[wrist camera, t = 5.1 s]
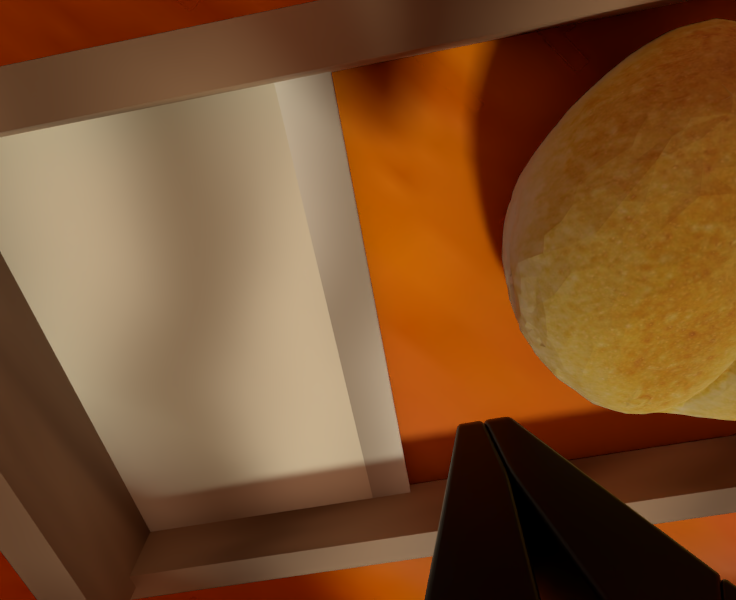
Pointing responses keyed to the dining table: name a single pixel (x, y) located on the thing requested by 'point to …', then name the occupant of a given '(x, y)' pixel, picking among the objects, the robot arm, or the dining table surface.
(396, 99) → the dining table surface
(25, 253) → the brown open frame
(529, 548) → the robot arm
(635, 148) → the bread roll
